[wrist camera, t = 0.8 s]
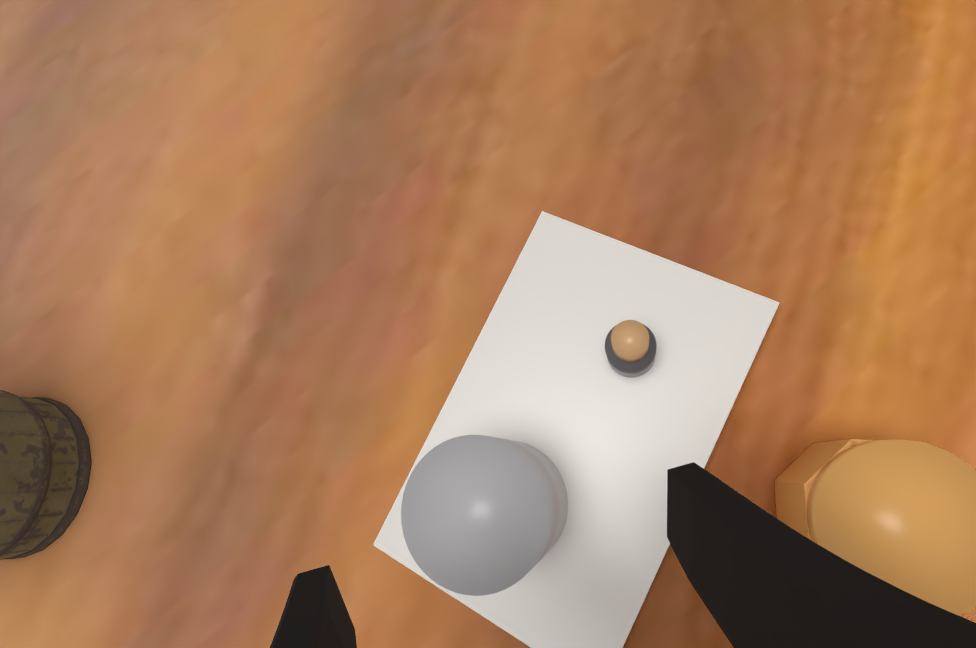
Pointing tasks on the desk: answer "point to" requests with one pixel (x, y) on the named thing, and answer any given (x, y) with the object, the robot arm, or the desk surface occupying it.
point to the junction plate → (574, 436)
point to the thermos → (39, 472)
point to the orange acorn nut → (889, 513)
